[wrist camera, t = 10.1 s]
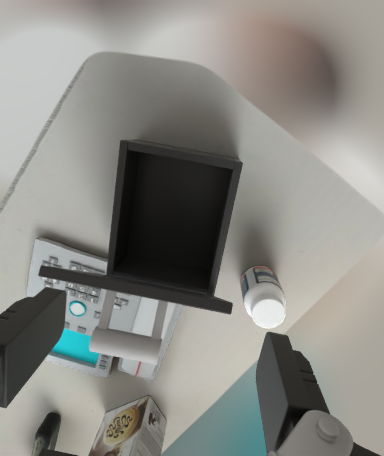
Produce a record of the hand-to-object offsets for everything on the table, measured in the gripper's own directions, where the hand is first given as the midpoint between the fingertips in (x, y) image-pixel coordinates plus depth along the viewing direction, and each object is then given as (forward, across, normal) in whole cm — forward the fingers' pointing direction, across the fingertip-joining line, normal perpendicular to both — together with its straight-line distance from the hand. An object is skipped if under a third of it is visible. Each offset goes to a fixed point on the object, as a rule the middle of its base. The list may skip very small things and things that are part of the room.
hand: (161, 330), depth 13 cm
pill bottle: (+32, -10, +11) cm, 36 cm away
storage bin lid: (+17, +3, +7) cm, 19 cm away
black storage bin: (+32, +3, +3) cm, 32 cm away
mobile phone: (+32, +19, +50) cm, 62 cm away
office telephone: (+32, +12, +22) cm, 41 cm away
